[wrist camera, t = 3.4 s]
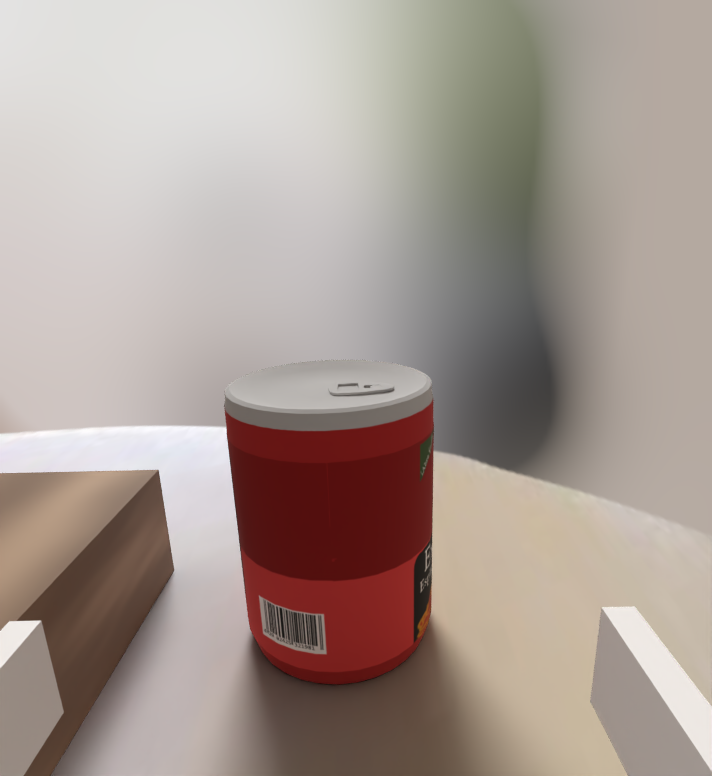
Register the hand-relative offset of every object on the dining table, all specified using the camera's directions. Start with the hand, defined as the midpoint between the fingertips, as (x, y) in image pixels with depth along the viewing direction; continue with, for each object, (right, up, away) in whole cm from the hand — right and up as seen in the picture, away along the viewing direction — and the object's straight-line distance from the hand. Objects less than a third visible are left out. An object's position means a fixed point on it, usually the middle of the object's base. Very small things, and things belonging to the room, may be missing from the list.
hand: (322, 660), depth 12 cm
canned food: (0, -4, +10) cm, 11 cm away
